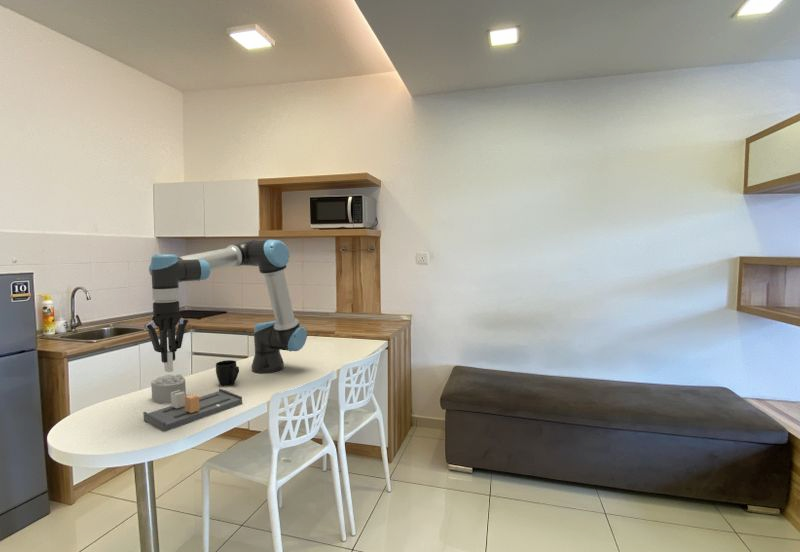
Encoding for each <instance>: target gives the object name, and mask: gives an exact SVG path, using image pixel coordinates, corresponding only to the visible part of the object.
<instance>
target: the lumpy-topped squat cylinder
mask: <svg viewBox="0 0 800 552" xmlns="http://www.w3.org/2000/svg"><path fill="white" fill-rule="evenodd" d="M150 386H151V400H152V402H154V403H156V404H164V405H165V404H166V405H167V404H171V392H174V391H178V390H180V391H181V390H182V391H183V392H185V396H187V389H186V378H185V377H184V376H183V375H182V374H181V373H180V374H179V373H178V374H176V375H173V374H167V375H163V376H159V377H156V378H155V379H154V380H152V381H151V385H150Z"/></svg>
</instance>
